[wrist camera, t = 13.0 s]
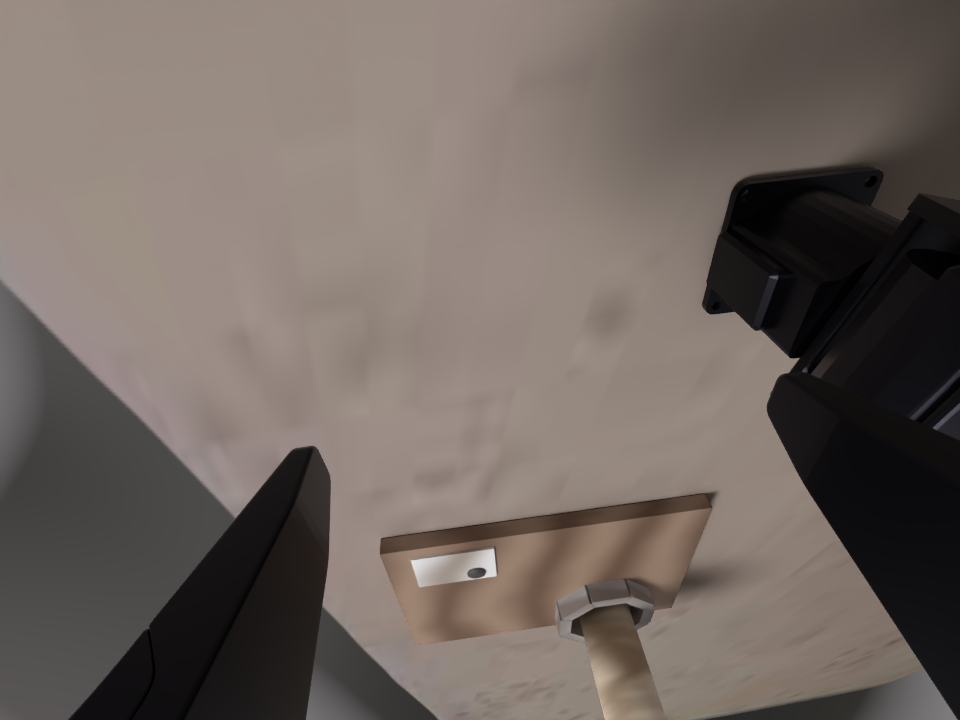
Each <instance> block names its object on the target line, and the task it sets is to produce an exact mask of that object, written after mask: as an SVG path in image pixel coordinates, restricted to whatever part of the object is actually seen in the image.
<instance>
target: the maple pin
mask: <svg viewBox="0 0 960 720" xmlns="http://www.w3.org/2000/svg"><path fill="white" fill-rule="evenodd" d="M579 619H580V623H581V627H582V631H583V635H584V639H585V643H586V647H587V651H588V654H589V658H590V662H591V666H592V670H593V674H594V678H595V682H596V686H597V690H598V694H599V698H600V702H601V706H602V710H603V714H604V718H605V720H666V717H665V714H664V711H663V708H662V705H661V702H660V699H659V696H658V693H657V690H656V687H655V684H654V681H653V678H652V675H651V672H650V669H649V666H648V663H647V660H646V657H645V654H644V651H643V648H642V645H641V642H640V639H639V636H638V633H637V630H636V627H635V624H634V621H633V618H632V615H631V612H630V609H629V606H628V604H627V603H623V604H616V605H609V606H602V607H596V608H593V609H591V610H590V611H588V612H586V613H584V614H583V615H581V616H579Z"/></svg>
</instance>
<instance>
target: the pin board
mask: <svg viewBox="0 0 960 720" xmlns="http://www.w3.org/2000/svg"><path fill="white" fill-rule="evenodd" d="M711 510H712V506H711V505H710V503H709V501H708V499H707V498H706V496H705V494H700V495H693V496H685V497H678V498H671V499H664V500H657V501H650V502H642V503H635V504H628V505H621V506H614V507H606V508H599V509H592V510H585V511H578V512H571V513H563V514H556V515H549V516H542V517H535V518H527V519H520V520H513V521H506V522H499V523H492V524H484V525H477V526H470V527H463V528H456V529H448V530H441V531H434V532H427V533H420V534H413V535H405V536H398V537H391V538H384V539H381V545H380V556H381V559H382V561H383V564H384V566H385V569H386V571H387V574H388V576H389V579H390V582H391V584H392V587H393V589H394V592H395V594H396V597H397V599H398V602H399V605H400V607H401V610H402V612H403V615H404V617H405V620H406V622H407V625H408V628H409V630H410V633H411V635H412V638H413V640H414V643H415V645H416V646H418V645H424V644H431V643H438V642H445V641H451V640H458V639H465V638H471V637H478V636H485V635H492V634H498V633H505V632H512V631H518V630H525V629H532V628H538V627H545V626H552V625H557V629H558V633H559V636H560V637H562V638H565V639H569V640H573V641H576V642H580V643H585V639H584V635H583V631H582V627H581V623H580V619H579V616H581V615H583V614H584V613H586V612H588V611H590V610H591V609H593V608H596V607H602V606H609V605H616V604H623V603H627V604H628V606H629V609H630V612H631V615H632V618H633V621H634V624H635V627H636V630H637V629H639V628H641V627H643V626H645V625H647V624H648V623H649V622H650V621H651V618H652V616H653V613H654V610H659V609H666V608H672V605H673V603H674V600H675V598H676V596H677V593H678V591H679V588H680V586H681V583H682V581H683V578H684V576H685V574H686V571H687V569H688V566H689V564H690V561H691V559H692V556H693V554H694V552H695V549H696V547H697V544H698V542H699V539H700V537H701V534H702V532H703V530H704V527H705V525H706V522H707V520H708V517H709V515H710V512H711Z"/></svg>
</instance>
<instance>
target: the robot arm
mask: <svg viewBox="0 0 960 720" xmlns="http://www.w3.org/2000/svg"><path fill="white" fill-rule="evenodd" d="M868 178H870V179H869V180H868V182H866V181H867V179H868ZM882 179H883V172H882V171H880V170H878V169H875V168H872V167H866V168H857V169H848V170H839V171H830V172H821V173H812V174H803V175H794V176H785V177H776V178H767V179H758V180H749V181H743V182H741V183H739V184H738V185H736V187H735V188H734V189H733V191H732V193H731V196H730V200H729V204H728V207H727V211H726V215H725V219H724V223H723V226H722V230H721V233H720V235H719V236H718V239H717V243H716V247H715V251H714V255H713V258H712V262H711V266H710V270H709V274H708V278H707V287H706V291H705V295H704V299H703V302H702V307H703V308H704V310H705V311H706V312H707V313H709V314H721V313H729V312H736V313H737V314H738V315H739V316H740V317H741V318H742V319H743V320H744V321H745V322H746V323H747V324H748V325H749V326H750V327H751V328H752V329H753V330H755V331H759V330H762V331H763V332H764V333H765V334H766V335H767V336H768V337H769V338H770V339H771V340H772V341H773V342H774V343H775V344H776V345H777V346H778V347H779V348H780V349H781V350H782V351H783V352H784V353H785V354H786V355H788V356H789V357H790V358H800V359H799V360H798V361H797V363H796V364H795V365H794V367H793V368H792V369H791V371H790V372H789V373H787V374H782V375H781V376H779V377H778V379H777V380H776V383H775V385H774V388H773V390H772V392H771V393H770V398H769V400H768V403H767V413H768V416H769V418H770V420H771V422H772V424H773V426H774V428H775V430H776V432H777V434H778V436H779V438H780V440H781V442H782V444H783V445H784V447H785V449H786V451H787V453H788V455H789V457H790V459H791V461H792V463H793V465H794V467H795V469H796V471H797V473H798V474H799V476H800V478H801V480H802V482H803V483H804V485H805V487H806V488H807V490H808V492H809V493H810V495H811V496H812V498H813V499H814V501H815V502H816V504H817V506H818V507H819V509H820V510H821V512H822V513H823V515H824V516H825V518H826V519H827V521H828V522H829V524H830V525H831V527H832V528H833V530H834V532H835V533H836V535H837V536H838V538H839V539H840V541H841V542H842V544H843V545H844V547H845V548H846V550H847V551H848V553H849V554H850V556H851V558H852V559H853V561H854V562H855V564H856V565H857V567H858V568H859V570H860V571H861V573H862V574H863V576H864V577H865V579H866V580H867V582H868V583H869V585H870V587H871V588H872V590H873V591H874V593H875V594H876V596H877V597H878V599H879V600H880V602H881V603H882V605H883V606H884V608H885V609H886V611H887V613H888V614H889V616H890V617H891V619H892V620H893V622H894V623H895V625H896V626H897V628H898V629H899V631H900V632H901V634H902V635H903V637H904V639H905V640H906V642H907V643H908V645H909V646H910V648H911V649H912V651H913V652H914V654H915V655H916V657H917V658H918V660H919V661H920V663H921V664H922V666H923V668H924V669H925V670H926V672H927V674H928V675H929V677H930V678H931V680H932V681H933V683H934V684H935V686H936V687H937V689H938V690H939V692H940V693H941V695H942V697H943V698H944V700H945V701H946V703H947V704H948V706H949V707H950V709H951V710H952V712H953V713H954V715H955V716H956V718H957V719H958V720H960V201H959V200H954V199H949V198H943V197H938V196H933V195H928V194H923V193H919V194H918V195H917V197H916V198H915V199H914V201H913V202H912V203H911V205H910V206H909V208H908V210H909V211H910V212H909V213H908V214H907V216H906V217H905V218H904V220H903V221H901V220H899V219H897V218H894V217H892V216H890V215H888V214H886V213H884V212H881V211H879V210H877V209H875V208H873V207H871V204H872V202H873V200H874V197H875V195H876V193H877V191H878V189H879V186H880V184H881V182H882ZM865 182H866V183H865ZM747 190H748V193H747V195H746V196H745V197H744V198H742V195H743V193H744V192H745V191H747ZM714 302H716V304H714V305H713V306H712V304H713V303H714ZM330 494H331V480H330V475H329V472H328V469H327V467H326V465H325V463H324V461H323V459H322V457H321V455H320V452H319V450H318V449H317V448H316V447H315V446H307V447H301V448H295V449H293V450H292V451H290V453H289V454H288V455H287V456H286V457H285V459H284V460H283V461H282V462H281V464H280V465H279V466H278V467H277V468H276V470H275V471H274V472H273V473H272V475H271V476H270V477H269V478H268V479H267V481H266V482H265V483H264V484H263V486H262V487H261V488H260V489H259V491H258V492H257V493H256V494H255V495H254V497H253V498H252V499H251V500H250V502H249V503H248V504H247V505H246V506H245V508H244V509H243V510H242V511H241V513H240V514H239V515H238V516H237V518H236V519H235V520H234V521H233V522H232V524H231V525H230V526H229V527H228V529H227V530H226V531H225V532H224V533H223V535H222V536H221V537H220V538H219V540H218V541H217V542H216V544H214V546H213V547H212V548H211V549H210V551H209V552H208V553H207V554H206V556H205V557H204V558H203V559H202V560H201V562H200V563H199V564H198V565H197V567H196V568H195V569H194V570H193V571H192V573H191V574H190V575H189V576H188V578H187V579H186V580H185V581H184V583H183V584H182V585H181V586H180V587H179V589H178V590H177V591H176V593H175V594H174V595H173V596H172V597H171V598H170V600H169V601H168V603H166V605H165V606H164V607H163V608H162V609H161V611H160V612H159V613H158V614H157V616H156V617H155V618H154V619H153V621H152V622H151V623H150V625H149V629H146V630H144V631H143V633H142V634H141V635H140V636H139V637H138V639H137V640H136V641H135V642H134V644H133V645H132V646H131V647H130V649H129V650H128V651H127V652H126V653H125V655H124V656H123V657H122V658H121V659H120V661H119V662H118V663H117V664H116V665H115V666H114V668H113V669H112V670H111V671H110V672H109V674H108V675H107V676H106V677H105V678H104V679H103V681H102V682H101V683H100V684H99V685H98V687H97V688H96V689H95V690H94V691H93V692H92V694H91V695H90V696H89V697H88V698H87V699H86V700H85V701H84V702H83V704H82V705H81V706H80V707H79V708H78V709H77V710H76V711H75V712H74V714H73V715H72V716H71V717H70V718H69V719H68V720H306V714H307V707H308V700H309V693H310V687H311V679H312V672H313V666H314V658H315V652H316V645H317V638H318V631H319V624H320V617H321V610H322V603H323V596H324V589H325V583H326V576H327V568H328V558H329V530H330Z"/></svg>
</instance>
